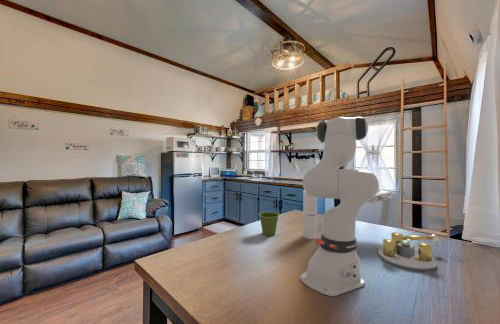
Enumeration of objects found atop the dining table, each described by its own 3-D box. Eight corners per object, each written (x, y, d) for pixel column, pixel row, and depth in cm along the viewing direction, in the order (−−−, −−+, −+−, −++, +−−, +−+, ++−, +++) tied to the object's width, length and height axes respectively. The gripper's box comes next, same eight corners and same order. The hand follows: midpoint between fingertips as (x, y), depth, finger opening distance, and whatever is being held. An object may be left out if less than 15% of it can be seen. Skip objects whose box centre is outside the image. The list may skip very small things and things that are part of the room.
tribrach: (426, 276, 81) (426, 254, 81) (369, 257, 97) (369, 238, 97) (442, 261, 93) (442, 241, 93) (389, 246, 109) (389, 229, 109)
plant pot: (255, 232, 130) (254, 213, 130) (272, 229, 135) (272, 211, 135) (264, 239, 119) (264, 218, 119) (283, 235, 124) (283, 215, 124)
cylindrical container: (313, 240, 118) (313, 192, 117) (301, 237, 122) (301, 191, 122) (318, 236, 123) (318, 191, 123) (306, 233, 128) (306, 190, 127)
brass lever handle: (395, 249, 100) (395, 235, 100) (389, 245, 104) (389, 232, 104) (441, 249, 99) (441, 235, 99) (433, 245, 103) (433, 232, 103)
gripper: (355, 190, 120) (382, 195, 109) (375, 187, 132) (401, 191, 120) (355, 202, 121) (381, 208, 109) (374, 197, 132) (400, 202, 121)
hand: (392, 199), depth 115 cm, fingers closed
